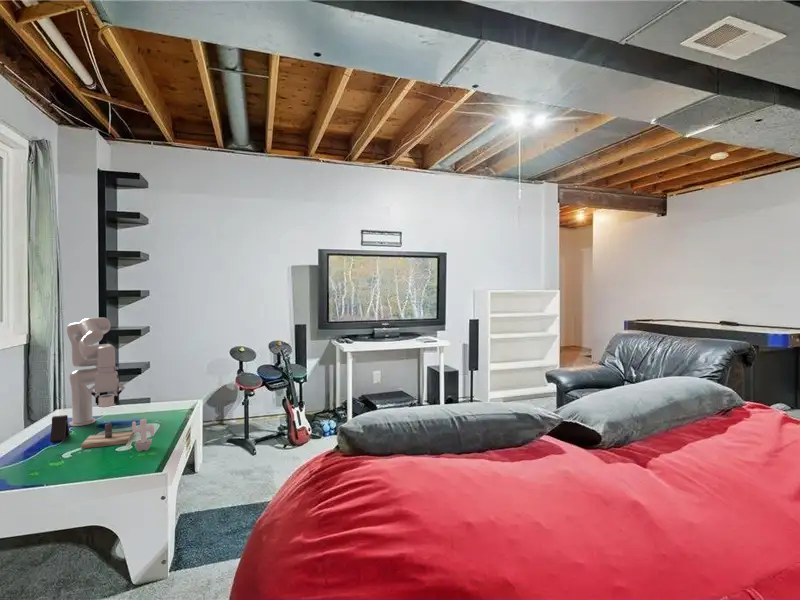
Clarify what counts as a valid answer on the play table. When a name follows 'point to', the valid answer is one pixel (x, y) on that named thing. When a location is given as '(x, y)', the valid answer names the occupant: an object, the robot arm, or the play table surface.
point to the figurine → (143, 435)
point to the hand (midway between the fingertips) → (107, 403)
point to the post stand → (107, 438)
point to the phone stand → (59, 428)
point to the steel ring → (106, 400)
